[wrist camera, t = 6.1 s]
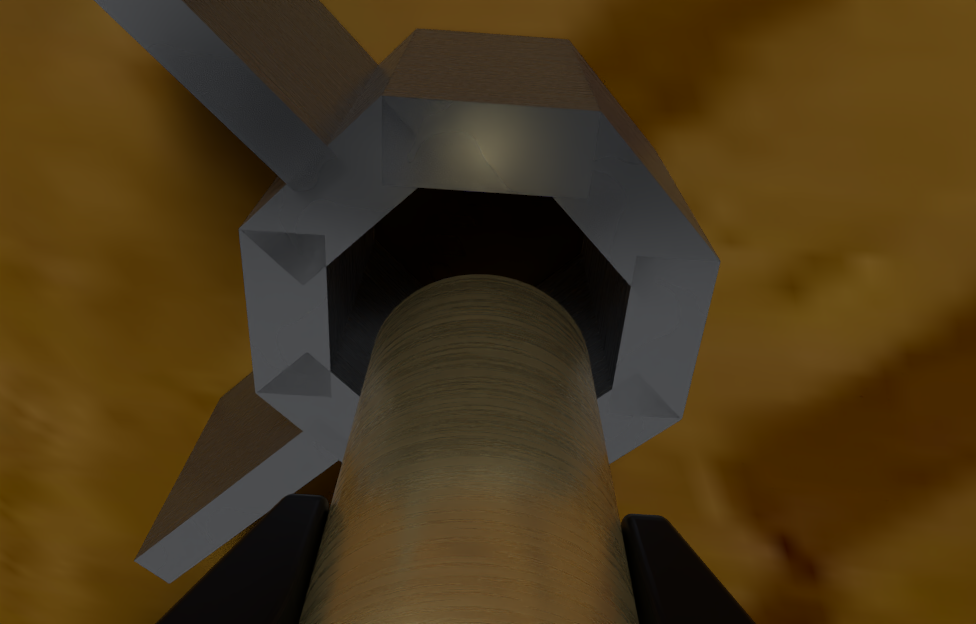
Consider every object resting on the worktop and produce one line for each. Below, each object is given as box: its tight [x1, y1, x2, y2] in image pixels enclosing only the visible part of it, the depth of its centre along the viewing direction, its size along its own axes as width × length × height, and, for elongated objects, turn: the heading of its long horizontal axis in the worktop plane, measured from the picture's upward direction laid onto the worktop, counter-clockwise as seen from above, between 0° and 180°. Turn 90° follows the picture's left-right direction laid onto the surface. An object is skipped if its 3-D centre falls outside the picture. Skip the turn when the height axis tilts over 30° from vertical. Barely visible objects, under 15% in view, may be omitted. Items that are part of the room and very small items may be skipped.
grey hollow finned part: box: [94, 0, 720, 584], centre depth 13 cm, size 11×11×5 cm
